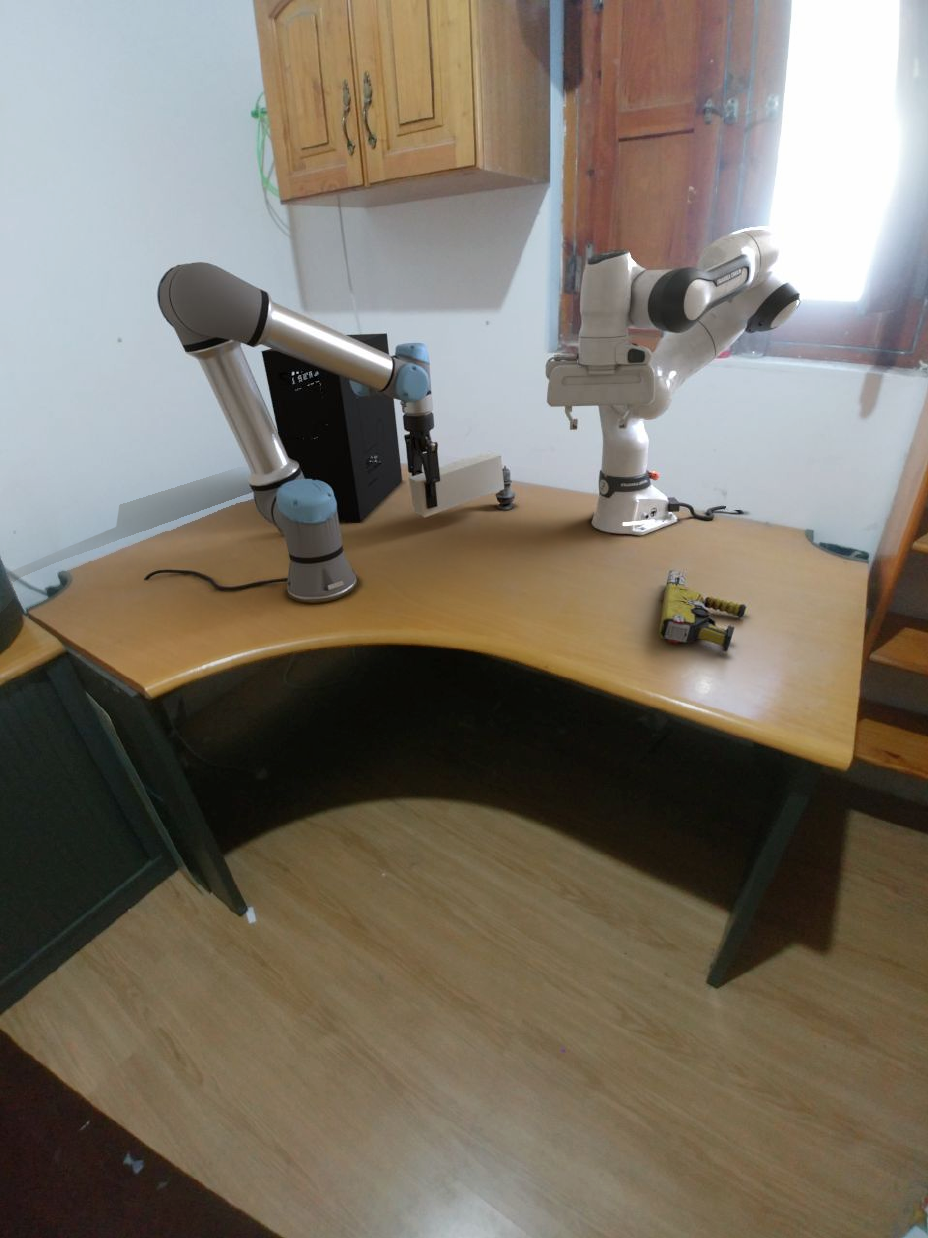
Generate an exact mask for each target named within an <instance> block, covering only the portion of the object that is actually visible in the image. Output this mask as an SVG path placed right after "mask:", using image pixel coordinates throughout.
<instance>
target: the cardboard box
mask: <svg viewBox="0 0 928 1238" xmlns="http://www.w3.org/2000/svg"><path fill="white" fill-rule="evenodd" d="M346 335H347V336H349V337H351V338H353V339H356V340H358V341H360V342H362V343H364V344H366V345H369V346H371V347H373V348H375V349H377V350H380V351H382V352H384V353H386V354H388V355H390V350H389V339H388V333H360V334H359V333H358V334H346ZM260 352H261V356H262V361H263V365H264V366H263V367H264V370H265V371H264V372H265V375H266V381H267V386H268V390H269V395H270V400H271V406H272V411H273V415H274V420H275V427H276V430H277V432H278V435H279V437H280V439H281V442H282V444H283V446H284V449H285V451H286V453H287V456H288V458H290V459H292V460H294V461H297V462H298V464H299V466H300V469H301V471H302V473H303V475H304V478H305V479H312V480H319V481H323V482H325V483H326V484H328V485H329V486H330V487H331V488H332V490H333V493H334V497H335V500H336V503H337V513H338V520H339V522H342V523H343V522H344V523H345V522H346V523H348V522H349V523H361V522H363V520H365V519H366V518H367V517H368V516H369V515H370V514H371V513H372V512H373V511H374V510H375V509H376V508H377V507H378V506H379V505H380V504H381V503H382V502H383V501H384V500H385V499H386V498H387V497H388V496H389V495H391V493H392V492H393V491H394V490H395V489H396V488H397V487H398V486H399V485H401V484H402V482H403V474H402V473H403V472H402V464H401V454H400V444H399V435H398V426H397V416H396V415H397V414H396V408H395V407H396V406H395V399H394V398H389V397H385V396H381V395H371V396H362V397H360V396H357V395H356V394H355V393H354V391H353V390H352V388H351V385H350V381H349V379H346V378H344V377H341V376H339V375H336V374H334V373H331V372H329V371H326V370H324V369H321V368H319V367H316V366H314V365H311V364H309V363H306V362H304V361H301V360H299V359H296V358H294V357H291V356H289V355H286V354H284V353H281V352H279V351H276V350H274V349H271V348H268V349H264V350H261V351H260Z"/></svg>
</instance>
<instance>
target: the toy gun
mask: <svg viewBox="0 0 928 1238" xmlns="http://www.w3.org/2000/svg"><path fill="white" fill-rule="evenodd" d="M667 575H668V576H667V579H666V585H665V590H664V594H663V600H662V610H661V616H660V626H659V636H660V637H661V638H662V639H666V640H668V641H667V642H668V643H674V644H676V645H677V644H679V643H685V644H688V643H692V642H694V641H696V640H703V641H706V642H709V643H712V644H716V645H718V646H721V647H722V651H723V652H728V650H729V647H730V644H731V641H732V638H733V634H734V632H735V627H734V626H733V625H731V624H729V625H727V628H726V629H724V628H722V627H719V626H717V624H716V621H715V620H714V619H713V618H711V614H710V611H709V610H708V609H713V610H714V611H719V612H721V613H724V612H725V613H726V614H728V615H731V614H732V615H733V616H735V617H737V618H744V615H745V613H746V610H747V606H746V605H745V604H743V603H735V602H734V601H728V600H726V599H721V598H719V597H716V598H715V597H714V596H711V595H708V596H707V597H705V598H704V597H703V595H702V594H701V592H699V591H695V590H692V589H689V588H687V586H685V585H686V576H687V575H686V572H684V571H681V570H680V571H679V573H677V570H675V569H671V570H669V571H668V574H667ZM676 575H677V576H678V577H676Z"/></svg>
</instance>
